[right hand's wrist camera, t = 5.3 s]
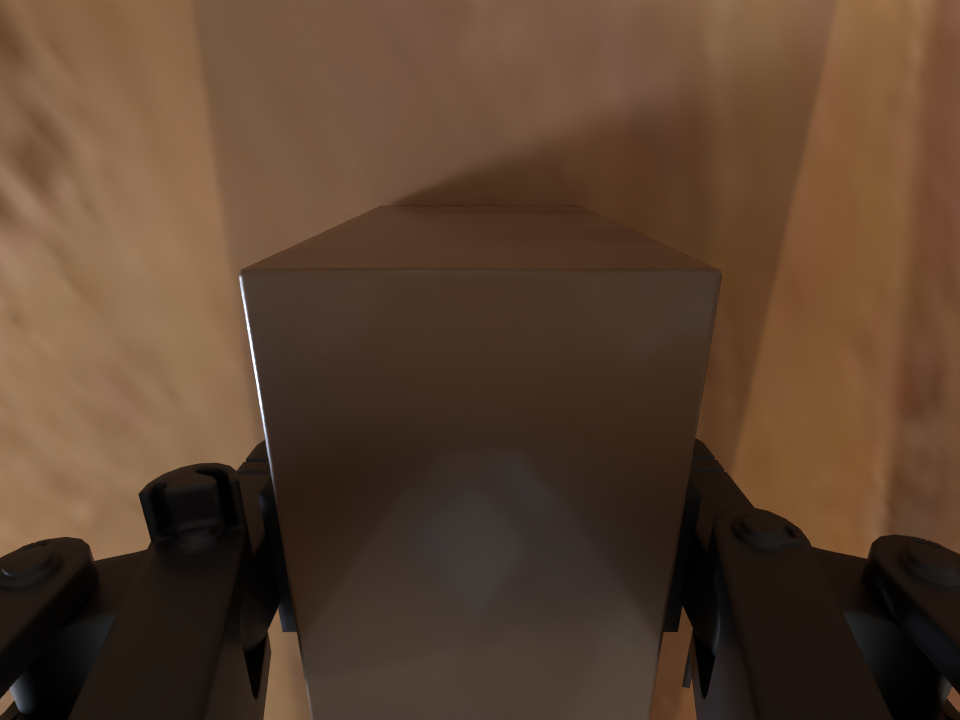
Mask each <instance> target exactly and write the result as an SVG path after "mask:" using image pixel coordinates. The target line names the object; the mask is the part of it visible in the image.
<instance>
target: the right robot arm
mask: <svg viewBox="0 0 960 720" xmlns="http://www.w3.org/2000/svg"><path fill="white" fill-rule="evenodd" d="M139 498H140V502H141V505H142V509H143V513H144V516H145V520H146V524H147V527H148V531H149V535H150V538H151V543H150V545H149V547H148V549H147V550H143V551H139V552H135V553H130V554H126V555H121V556H116V557H111V558H106V559H102V560H97V561H94V559H93V556H92V553H91V550H90V546H89V545H88V544H87V543H86V542H84V541H83V540H82V539H78V538H70V537H62V538H54V539H46V540H42V541H38V542H36V543H31V544H28V545H25V546H23V547H21V548H19V549H18V550H15V551H13V552H11V553H9V554H7V555H5V556H3V557H1V558H0V699H1V698H2V696H3V695H4V694H5V693H6V692H7V691H8V690H9V689H10V691H11V693H12V696H13V698H14V702H13V703H12V704H11V705H10V706H9V708H8V709H7V710H6V711H5V712H4V713H3V714H2V715H1V716H0V720H263V717H264V708H265V700H266V692H267V684H268V675H269V667H270V659H271V648H270V641H269V635H268V628H269V626H270V624H271V622H272V620H273V617H274V615H275V613H276V611H277V608H279V614H280V620H281V625H282V631H283V632H297V629H296V623H295V617H294V611H293V605H292V599H291V592H290V586H289V580H288V574H287V568H286V562H285V556H284V550H283V544H282V538H281V532H280V525H279V519H278V513H277V507H276V501H275V495H274V489H273V483H272V477H271V471H270V464H269V458H268V452H267V446H266V440H264V441H263V442H261V443H259V444H258V445H257V446H256V447H255V448H254V450H253V451H252V452H251V453H250V455H249V456H248V457H247V459H246V462H243V464H242V465H241V466H240V468H239V469H238V470H237V471H236V470H234V469H233V468H232V467H231V466H228V465H224V464H219V463H199V464H195V465H190V466H185V467H181V468H178V469H176V470H173V471H170V472H168V473H165V474H163V475H161V476H160V477H158V478H156V479H155V480H153V481H151V482H150V483H148V484H147V485H146V486H145V487H144V488H143V490H142V491H141V492H140V493H139ZM682 605H683V607H684V609H685V612H686V614H687V616H688V618H689V620H690V623H691V625H692V627H693V630H692V635H691V641H690V646H689V651H688V656H687V662H686V667H685V672H684V678H683V686H682V687H686V688H690V684H691V679H692V682H693V691H694V699H695V707H696V715H697V720H960V713H959V712H958V711H957V710H956V709H955V707H954V706H953V705H952V704H951V703H950V701H949V700H948V699H947V697H948V695H949V692H950V690H951V688H952V686H953V687H954V688H955V690H956V691H957V692H958V693H959V694H960V555H959V554H957V553H955V552H953V551H951V550H949V549H947V548H945V547H943V546H941V545H940V544H937V543H934V542H931V541H929V540H928V541H926V540H925V539H921V538H917V537H910V536H902V535H888V536H881V537H879V538H878V539H877V540H875V541H874V542H873V543H872V545H871V548H870V551H869V554H868V557H867V559H865V558H861V557H856V556H851V555H846V554H841V553H836V552H832V551H827V550H822V549H819V548H815V547H812V546H811V544H810V542H809V540H808V539H807V537H806V536H805V535H804V534H803V532H802V531H801V530H800V529H799V528H798V527H796V526H795V525H794V524H792V523H791V522H789V521H788V520H787V519H785V518H783V517H780V516H778V515H776V514H774V513H772V512H769V511H766V510H762V509H757V508H754V507H753V505H752V504H751V503H750V501H749V500H748V499H747V498H746V496H745V495H744V494H743V493H742V491H741V490H740V489H739V488H738V486H737V485H736V484H735V482H734V481H733V480H732V479H731V477H730V476H729V475H728V474H727V472H724V469H723V467H722V466H721V465H720V463H719V462H718V461H717V460H715V457H714V456H713V455H712V453H711V452H710V451H709V450H708V448H707V447H706V446H705V444H704V443H702V442H701V441H699V440H698V439H696V438H695V442H694V448H693V454H692V460H691V466H690V472H689V479H688V485H687V491H686V497H685V503H684V509H683V515H682V521H681V527H680V533H679V539H678V546H677V552H676V558H675V564H674V570H673V576H672V582H671V588H670V594H669V600H668V606H667V613H666V619H665V625H664V631H663V632H678V627H679V622H680V616H681V610H682Z"/></svg>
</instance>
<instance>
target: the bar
mask: <svg viewBox="0 0 960 720" xmlns="http://www.w3.org/2000/svg"><path fill="white" fill-rule="evenodd" d="M721 278H722V276H721V271H720V270H718V269H716V268H714V267H712V266H709V265H707V264H705V263H703V262H701V261H699V260H696V259H694V258H692V257H690V256H688V255H685V254H683V253H681V252H679V251H677V250H675V249H672V248H670V247H668V246H666V245H664V244H662V243H659V242H657V241H655V240H653V239H651V238H648V237H646V236H644V235H642V234H640V233H638V232H635V231H633V230H631V229H629V228H627V227H624V226H622V225H620V224H618V223H616V222H614V221H611V220H609V219H607V218H605V217H603V216H601V215H598V214H596V213H594V212H592V211H590V210H587V209H585V208H583V207H581V206H380V207H377V208H375V209H373V210H371V211H369V212H366V213H364V214H362V215H360V216H358V217H356V218H353V219H351V220H349V221H347V222H345V223H342V224H340V225H338V226H336V227H334V228H332V229H329V230H327V231H325V232H323V233H321V234H318V235H316V236H314V237H312V238H310V239H308V240H305V241H303V242H301V243H299V244H297V245H294V246H292V247H290V248H288V249H286V250H284V251H281V252H279V253H277V254H275V255H273V256H270V257H268V258H266V259H264V260H262V261H260V262H257V263H255V264H253V265H251V266H249V267H246V268H244V269H242V270H240V272H239V282H240V288H241V294H242V300H243V306H244V312H245V318H246V324H247V330H248V337H249V343H250V349H251V355H252V361H253V367H254V373H255V379H256V385H257V391H258V397H259V404H260V410H261V416H262V422H263V428H264V434H265V440H266V446H267V452H268V458H269V464H270V471H271V477H272V483H273V489H274V495H275V501H276V507H277V513H278V519H279V525H280V532H281V538H282V544H283V550H284V556H285V562H286V568H287V574H288V580H289V586H290V592H291V599H292V605H293V611H294V617H295V623H296V629H297V635H298V641H299V647H300V653H301V660H302V666H303V672H304V678H305V684H306V690H307V696H308V702H309V708H310V714H311V720H649V716H650V710H651V704H652V698H653V692H654V686H655V679H656V673H657V667H658V661H659V655H660V649H661V643H662V637H663V631H664V625H665V619H666V613H667V606H668V600H669V594H670V588H671V582H672V576H673V570H674V564H675V558H676V552H677V546H678V539H679V533H680V527H681V521H682V515H683V509H684V503H685V497H686V491H687V485H688V479H689V472H690V466H691V460H692V454H693V448H694V442H695V436H696V430H697V424H698V418H699V412H700V406H701V399H702V393H703V387H704V381H705V375H706V369H707V363H708V357H709V351H710V345H711V339H712V332H713V326H714V320H715V314H716V308H717V302H718V296H719V290H720V284H721Z"/></svg>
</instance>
